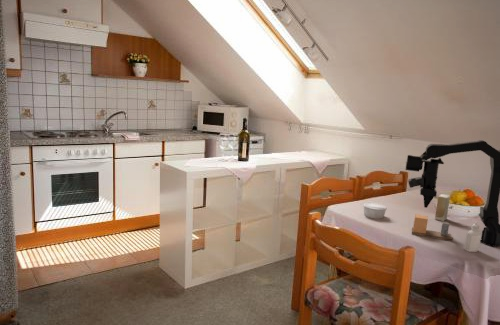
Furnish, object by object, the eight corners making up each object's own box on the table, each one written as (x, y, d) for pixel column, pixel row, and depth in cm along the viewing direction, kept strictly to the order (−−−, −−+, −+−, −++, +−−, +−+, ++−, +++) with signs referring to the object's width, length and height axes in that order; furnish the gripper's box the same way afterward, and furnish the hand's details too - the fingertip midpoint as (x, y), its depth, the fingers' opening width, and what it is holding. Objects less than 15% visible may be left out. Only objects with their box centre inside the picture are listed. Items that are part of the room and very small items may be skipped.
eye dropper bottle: (480, 253, 161) (485, 224, 159) (465, 251, 162) (470, 222, 160) (477, 249, 165) (481, 221, 163) (462, 247, 166) (466, 219, 164)
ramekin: (371, 220, 196) (373, 209, 195) (357, 213, 206) (358, 203, 205) (390, 218, 200) (391, 208, 199) (375, 212, 210) (376, 202, 209)
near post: (446, 234, 178) (448, 222, 177) (447, 236, 176) (449, 224, 175) (440, 233, 179) (442, 221, 178) (440, 235, 177) (442, 223, 176)
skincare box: (437, 216, 208) (441, 193, 206) (447, 218, 206) (450, 195, 203) (434, 219, 203) (437, 195, 201) (443, 221, 201) (447, 197, 199)
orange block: (425, 230, 182) (427, 216, 181) (425, 233, 178) (427, 219, 176) (413, 228, 184) (415, 214, 183) (412, 231, 180) (414, 217, 178)
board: (450, 236, 180) (451, 234, 179) (451, 241, 173) (452, 239, 173) (412, 229, 185) (412, 227, 185) (411, 234, 179) (411, 231, 179)
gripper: (410, 167, 188) (406, 199, 191) (410, 174, 171) (405, 209, 174) (437, 170, 184) (432, 203, 187) (438, 177, 167) (433, 213, 170)
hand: (425, 207), depth 180 cm, fingers closed
